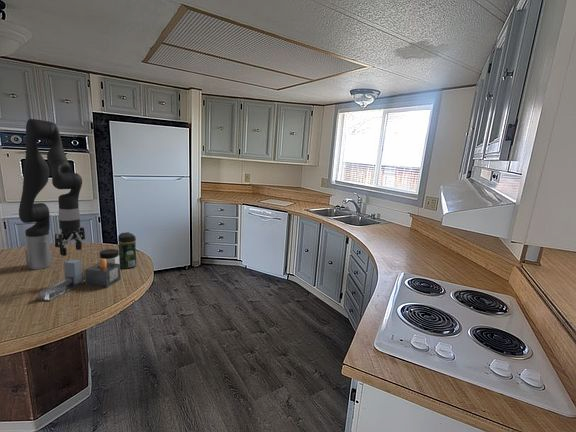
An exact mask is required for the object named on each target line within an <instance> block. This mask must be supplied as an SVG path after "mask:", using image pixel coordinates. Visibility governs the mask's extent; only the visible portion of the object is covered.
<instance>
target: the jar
mask: <svg viewBox="0 0 576 432" xmlns="http://www.w3.org/2000/svg"><path fill="white" fill-rule="evenodd" d="M100 259H106V261H107V263H115V264H120V262H119V249H114V248H109V249H108V248H107V249H103V250H100V251H99V257H98V263H100V261H99V260H100Z"/></svg>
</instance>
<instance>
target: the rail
mask: <svg viewBox="0 0 576 432" xmlns="http://www.w3.org/2000/svg"><path fill="white" fill-rule="evenodd" d="M84 283H85V284H86V279H84V273H83V272H82V282H80V283H78V284H76V285H75V284H74V280H73V278H72V277H68V278H66V279H65V278H64V279H62V280H61V281H58V282H56V283H54V284H51V285H50V286H48V287H46V288H44V289H42V290H40V291H39V296H38V297H36V298H35V300H36V301H43V302H51V301H53V300H55V299H57V298H58V297H60V296H62V295H65V294H67V293H68V292H70V291H73V289H75V288H78V287H79V286H81V285H82V284H84Z"/></svg>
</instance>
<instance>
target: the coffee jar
mask: <svg viewBox="0 0 576 432" xmlns="http://www.w3.org/2000/svg"><path fill="white" fill-rule="evenodd" d="M117 237H118V238H117V241H118V255H119V262H120V268H122V269H132V268H135V267H137V251H136V250H137V247H136V244H137V242H136V236H135V235H134V234H133V233H131V232H128V231H127V232H121V233H120V234H118V236H117Z"/></svg>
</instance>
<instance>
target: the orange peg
mask: <svg viewBox="0 0 576 432" xmlns="http://www.w3.org/2000/svg"><path fill="white" fill-rule="evenodd" d="M99 261H100V268H106V267H107V261H106V259H100V260H99V259H98V262H99Z"/></svg>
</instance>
